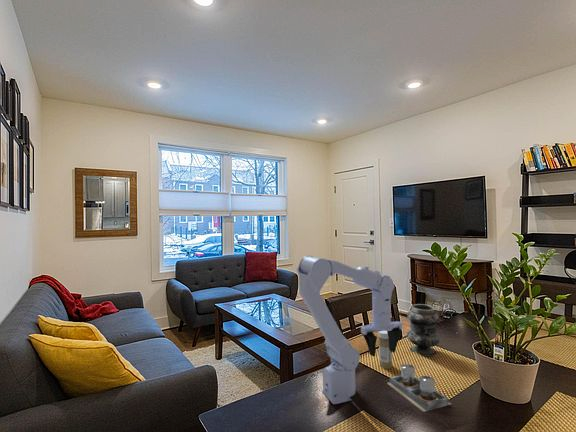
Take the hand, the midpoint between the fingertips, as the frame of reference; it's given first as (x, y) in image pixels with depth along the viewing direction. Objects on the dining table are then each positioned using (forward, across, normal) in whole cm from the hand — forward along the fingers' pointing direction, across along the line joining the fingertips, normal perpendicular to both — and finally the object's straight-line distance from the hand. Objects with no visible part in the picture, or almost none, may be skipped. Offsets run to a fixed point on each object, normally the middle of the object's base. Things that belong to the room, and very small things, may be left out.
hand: (382, 353), depth 103 cm
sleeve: (+9, +5, -14) cm, 17 cm away
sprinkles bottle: (+10, +7, +8) cm, 15 cm away
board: (+10, +5, -10) cm, 15 cm away
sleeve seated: (+9, +5, -6) cm, 12 cm away
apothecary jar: (+10, +30, +15) cm, 35 cm away
